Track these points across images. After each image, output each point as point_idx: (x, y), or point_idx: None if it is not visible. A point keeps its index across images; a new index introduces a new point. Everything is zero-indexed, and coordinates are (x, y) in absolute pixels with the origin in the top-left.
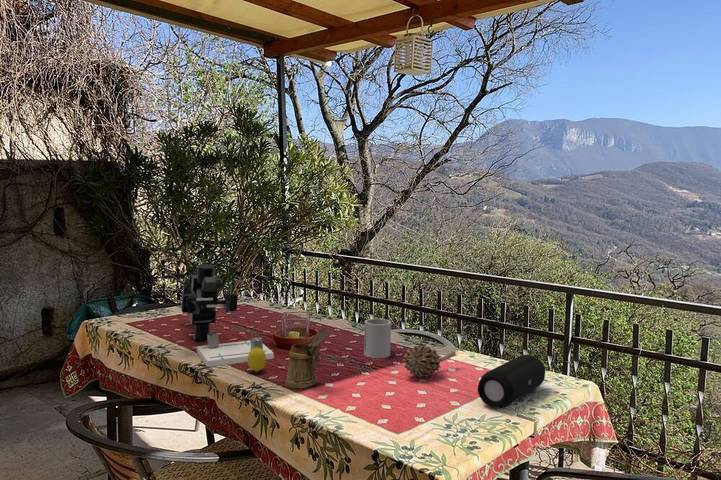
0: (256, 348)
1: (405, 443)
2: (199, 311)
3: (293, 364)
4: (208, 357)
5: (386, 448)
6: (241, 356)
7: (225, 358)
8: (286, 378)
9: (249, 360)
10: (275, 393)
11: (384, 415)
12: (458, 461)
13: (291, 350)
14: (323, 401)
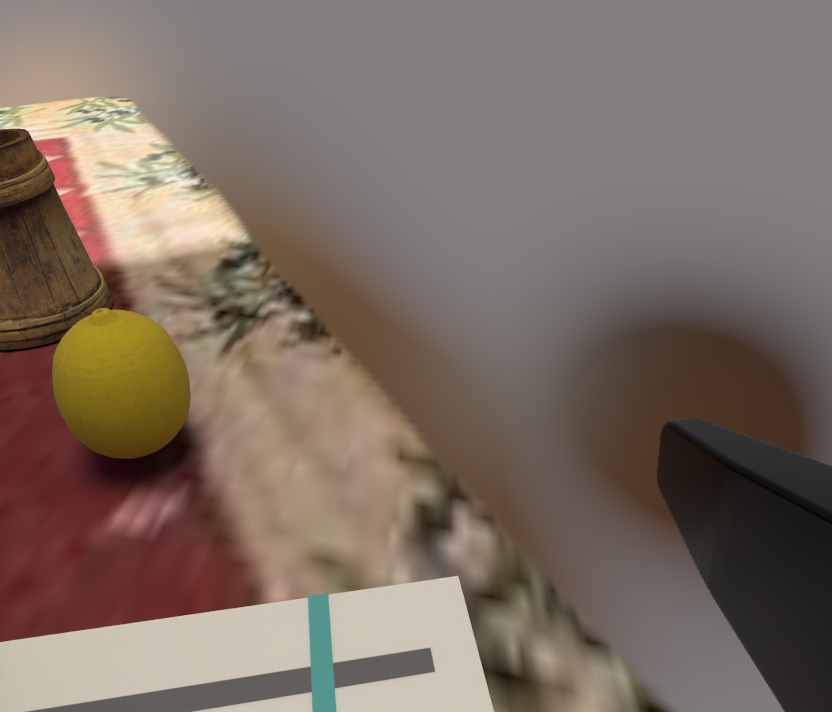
0: (111, 310)
1: (84, 125)
2: (685, 428)
3: (63, 206)
4: (447, 673)
5: (129, 122)
6: (132, 632)
7: (292, 606)
8: (93, 296)
9: (184, 364)
10: (194, 270)
11: None
12: (59, 102)
13: (34, 157)
14: (86, 220)
